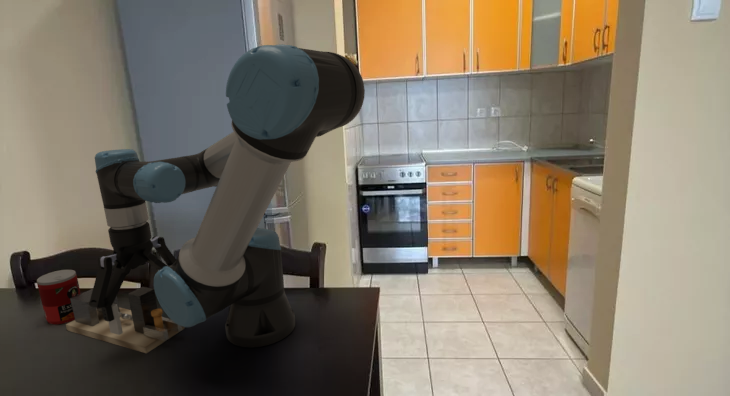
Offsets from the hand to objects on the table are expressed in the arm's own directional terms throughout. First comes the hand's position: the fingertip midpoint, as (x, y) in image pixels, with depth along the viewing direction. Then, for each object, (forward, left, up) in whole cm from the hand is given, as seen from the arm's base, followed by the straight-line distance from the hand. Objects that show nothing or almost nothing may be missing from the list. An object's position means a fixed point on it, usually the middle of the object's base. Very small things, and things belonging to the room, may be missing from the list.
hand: (145, 316), depth 89 cm
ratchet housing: (+17, 0, -3) cm, 17 cm away
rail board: (+7, 0, -5) cm, 8 cm away
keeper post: (-4, 0, -3) cm, 5 cm away
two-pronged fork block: (+2, 0, -3) cm, 3 cm away
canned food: (+28, +1, -5) cm, 28 cm away
